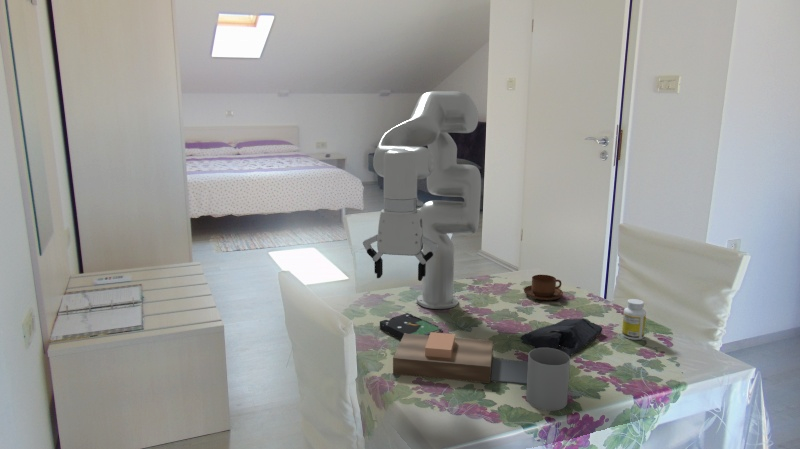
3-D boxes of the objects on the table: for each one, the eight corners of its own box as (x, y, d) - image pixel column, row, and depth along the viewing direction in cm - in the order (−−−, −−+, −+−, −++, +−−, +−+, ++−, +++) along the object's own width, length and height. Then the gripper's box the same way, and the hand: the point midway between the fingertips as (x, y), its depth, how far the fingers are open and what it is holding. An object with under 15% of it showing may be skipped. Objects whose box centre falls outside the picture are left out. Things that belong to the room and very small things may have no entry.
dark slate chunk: (612, 338, 155) (613, 321, 154) (564, 362, 141) (566, 344, 140) (562, 321, 166) (563, 305, 165) (514, 342, 152) (514, 325, 151)
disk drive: (378, 331, 160) (415, 348, 148) (378, 321, 159) (415, 338, 148) (407, 321, 166) (444, 337, 155) (407, 312, 165) (444, 327, 154)
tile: (430, 339, 143) (430, 332, 143) (455, 341, 142) (455, 334, 141) (425, 355, 134) (425, 347, 134) (451, 358, 133) (451, 350, 133)
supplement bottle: (633, 331, 158) (637, 296, 156) (648, 339, 153) (651, 303, 151) (617, 333, 157) (620, 299, 154) (631, 341, 152) (634, 306, 149)
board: (404, 348, 148) (404, 333, 147) (492, 355, 143) (492, 340, 143) (392, 374, 134) (392, 357, 133) (489, 383, 130) (490, 366, 129)
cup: (560, 390, 127) (562, 347, 125) (572, 410, 119) (576, 365, 117) (521, 390, 127) (523, 348, 125) (531, 411, 119) (534, 365, 117)
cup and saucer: (541, 288, 193) (542, 270, 192) (570, 298, 183) (572, 279, 182) (515, 295, 186) (516, 276, 185) (544, 306, 177) (545, 286, 175)
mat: (492, 359, 142) (492, 358, 141) (543, 363, 139) (543, 362, 139) (490, 381, 131) (490, 379, 131) (545, 386, 129) (546, 385, 129)
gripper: (440, 203, 134) (439, 275, 137) (366, 200, 137) (367, 271, 140) (436, 209, 126) (435, 285, 130) (358, 206, 130) (359, 280, 133)
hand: (399, 277), depth 135 cm, fingers open, 9 cm apart
